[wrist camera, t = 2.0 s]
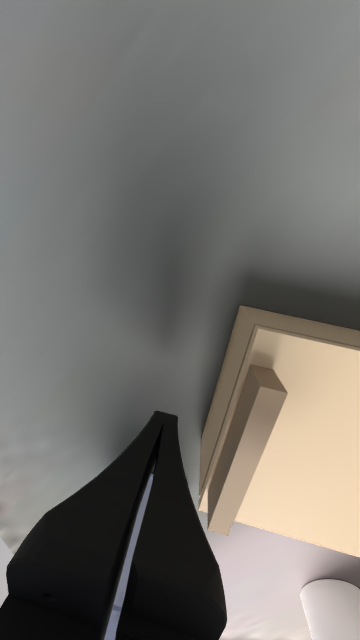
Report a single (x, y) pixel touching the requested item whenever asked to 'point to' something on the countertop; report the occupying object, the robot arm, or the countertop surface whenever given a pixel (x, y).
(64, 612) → the robot arm
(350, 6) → the countertop surface
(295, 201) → the countertop surface
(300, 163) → the countertop surface
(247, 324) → the mailer box
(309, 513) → the lid
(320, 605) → the cylindrical container
